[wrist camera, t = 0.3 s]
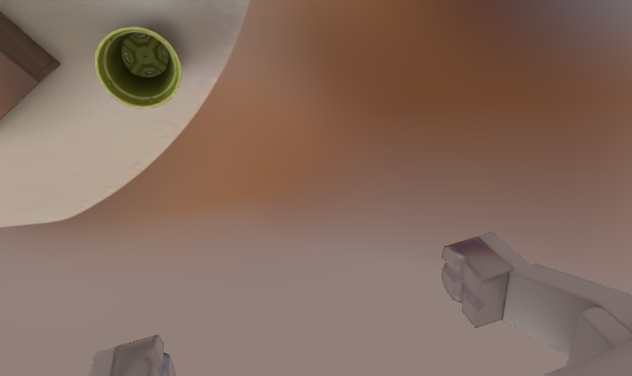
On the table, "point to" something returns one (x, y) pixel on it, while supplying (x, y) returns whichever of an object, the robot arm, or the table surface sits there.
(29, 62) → the cabinet
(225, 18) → the table surface
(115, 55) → the plant pot
